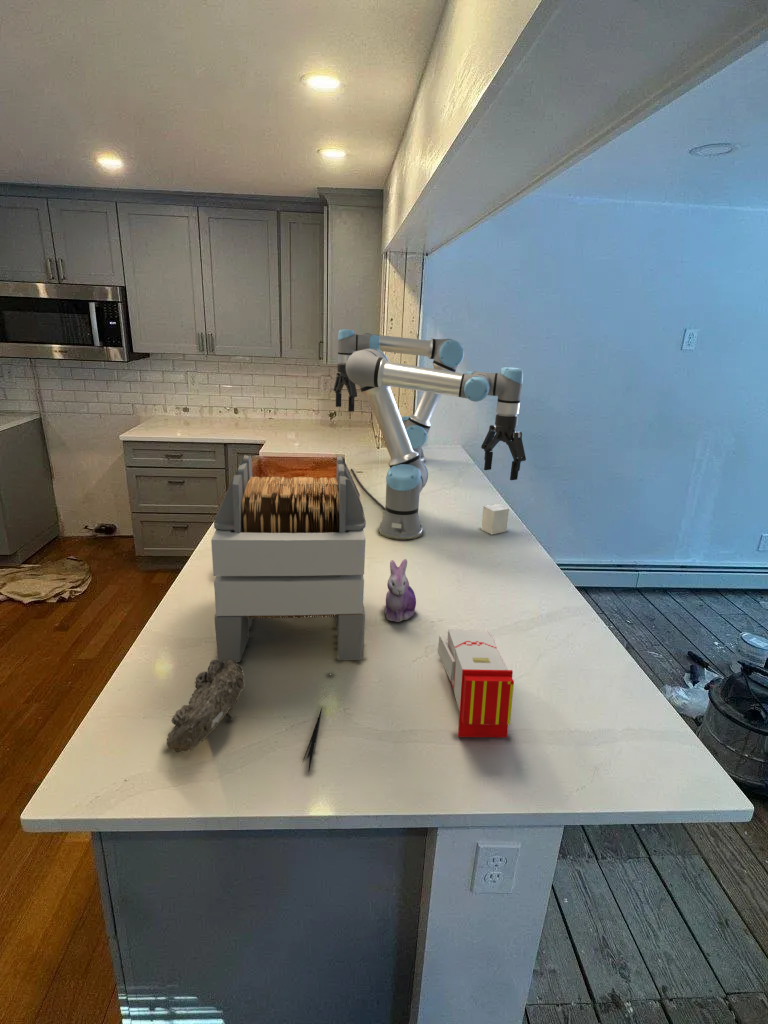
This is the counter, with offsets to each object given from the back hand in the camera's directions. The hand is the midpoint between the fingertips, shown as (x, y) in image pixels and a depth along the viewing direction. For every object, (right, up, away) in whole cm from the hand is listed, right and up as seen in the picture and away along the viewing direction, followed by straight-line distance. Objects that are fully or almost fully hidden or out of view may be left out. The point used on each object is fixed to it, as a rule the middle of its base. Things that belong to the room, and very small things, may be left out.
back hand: (344, 409), depth 274 cm
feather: (+7, -90, -166) cm, 188 cm away
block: (+59, -57, -67) cm, 106 cm away
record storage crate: (-3, -78, -133) cm, 154 cm away
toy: (+37, -87, -156) cm, 182 cm away
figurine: (+23, -76, -127) cm, 150 cm away
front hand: (+60, -37, -74) cm, 102 cm away
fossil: (-14, -89, -166) cm, 189 cm away
